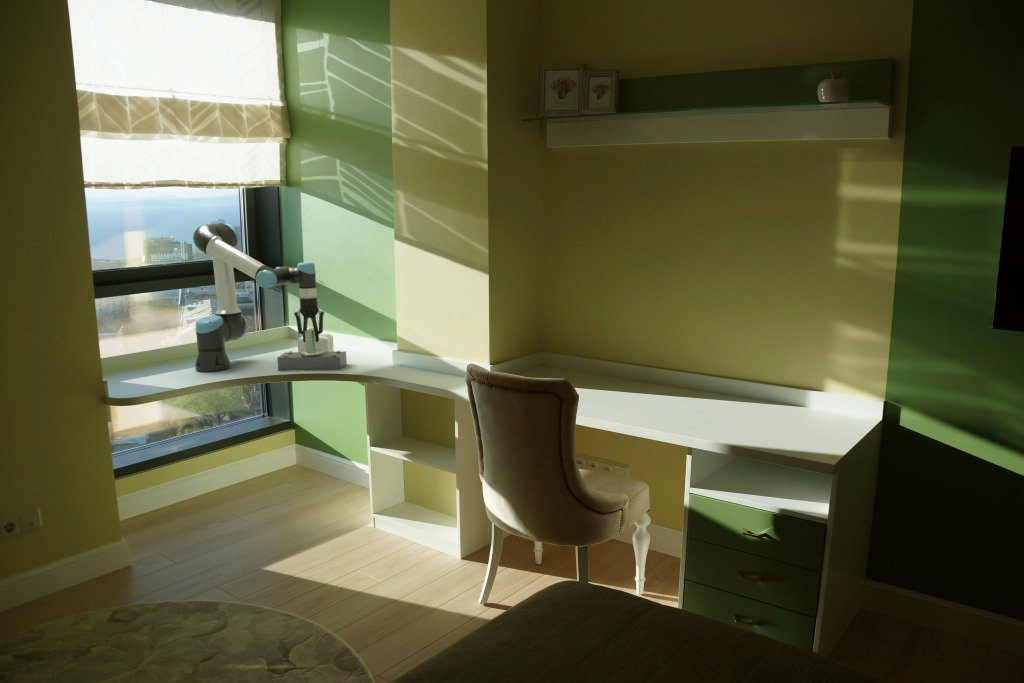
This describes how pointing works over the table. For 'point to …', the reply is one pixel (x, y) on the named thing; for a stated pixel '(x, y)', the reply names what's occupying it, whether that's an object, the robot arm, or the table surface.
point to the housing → (312, 361)
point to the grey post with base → (310, 344)
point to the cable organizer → (319, 343)
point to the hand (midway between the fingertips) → (311, 348)
